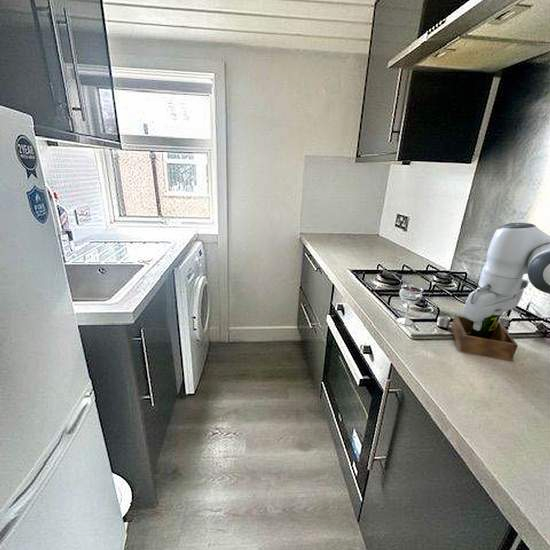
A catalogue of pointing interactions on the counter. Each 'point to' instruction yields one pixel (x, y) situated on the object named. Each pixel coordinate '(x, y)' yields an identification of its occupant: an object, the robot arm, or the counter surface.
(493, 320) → the beer can
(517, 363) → the counter surface
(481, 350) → the brown wooden open box
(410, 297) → the wineglass
